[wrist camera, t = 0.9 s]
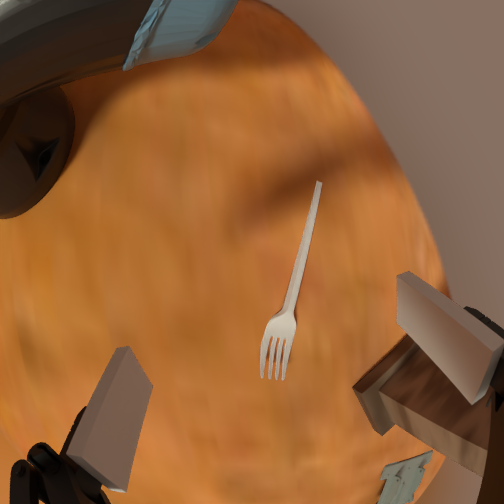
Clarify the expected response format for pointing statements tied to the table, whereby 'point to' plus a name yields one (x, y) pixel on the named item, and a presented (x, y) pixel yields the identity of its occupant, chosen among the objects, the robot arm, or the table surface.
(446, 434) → the walnut stand
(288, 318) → the fork
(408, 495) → the metal bracket
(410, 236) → the table surface
